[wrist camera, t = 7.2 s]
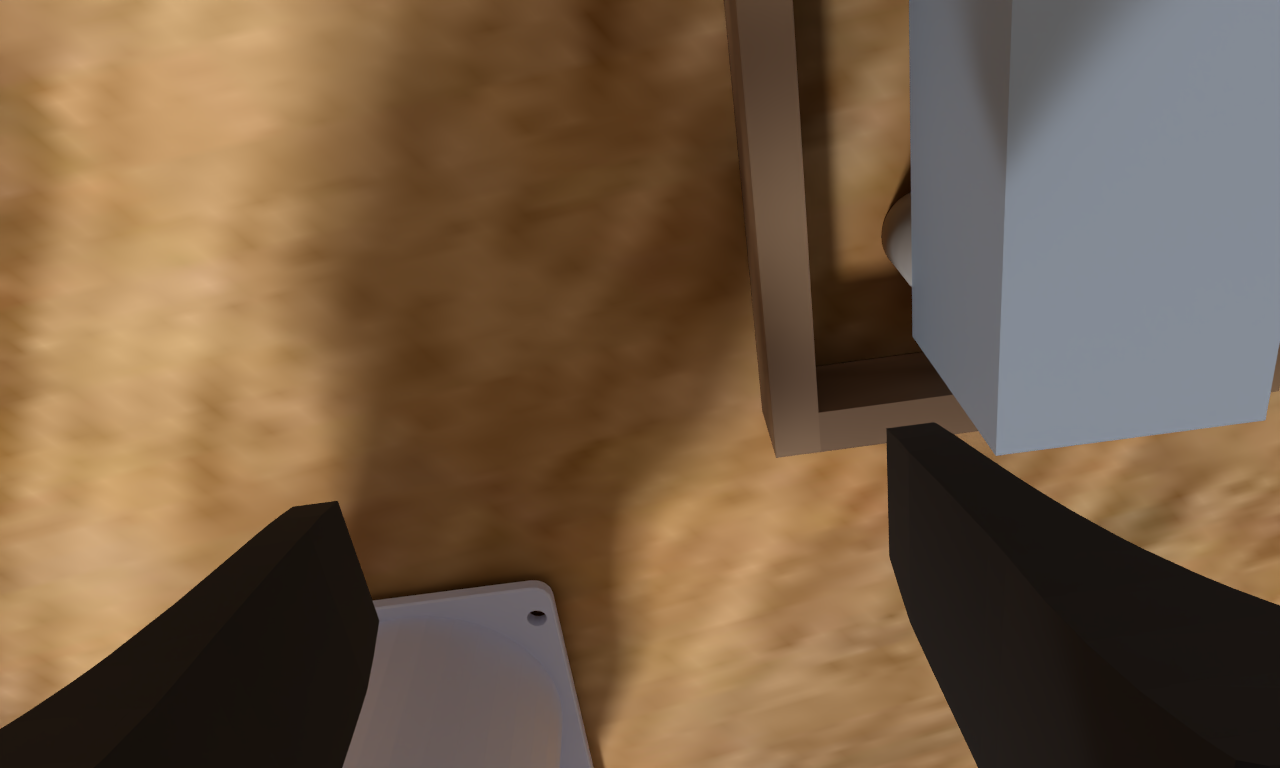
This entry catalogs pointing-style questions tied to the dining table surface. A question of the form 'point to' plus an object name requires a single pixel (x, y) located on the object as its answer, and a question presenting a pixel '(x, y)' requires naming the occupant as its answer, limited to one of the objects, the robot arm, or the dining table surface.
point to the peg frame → (779, 266)
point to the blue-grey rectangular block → (1096, 213)
